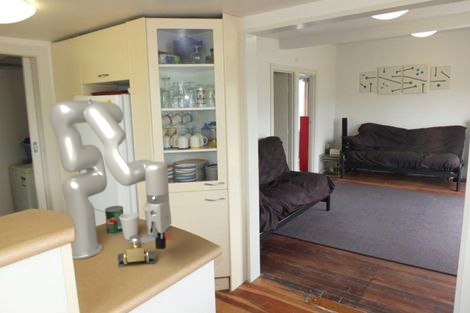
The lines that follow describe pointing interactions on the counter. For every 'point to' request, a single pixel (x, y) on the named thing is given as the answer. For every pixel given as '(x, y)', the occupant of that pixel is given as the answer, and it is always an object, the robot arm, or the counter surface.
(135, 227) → the dixie cup
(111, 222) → the canned tomato
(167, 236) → the lever
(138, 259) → the valve body
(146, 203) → the coffee cup
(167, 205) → the robot arm
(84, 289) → the counter surface
